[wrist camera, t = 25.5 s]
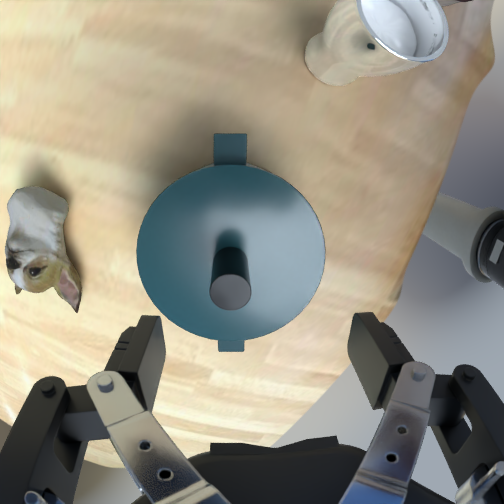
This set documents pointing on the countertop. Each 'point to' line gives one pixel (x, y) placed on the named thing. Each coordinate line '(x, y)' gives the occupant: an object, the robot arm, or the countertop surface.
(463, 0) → the coffee cup
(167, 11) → the countertop surface
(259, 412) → the countertop surface
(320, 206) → the countertop surface
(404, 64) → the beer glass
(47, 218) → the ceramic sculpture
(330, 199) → the countertop surface
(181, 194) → the lid
